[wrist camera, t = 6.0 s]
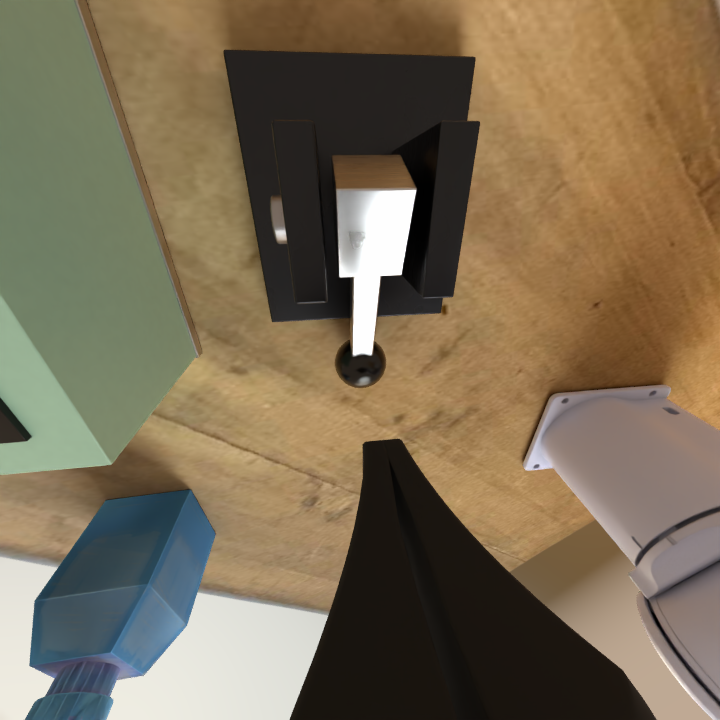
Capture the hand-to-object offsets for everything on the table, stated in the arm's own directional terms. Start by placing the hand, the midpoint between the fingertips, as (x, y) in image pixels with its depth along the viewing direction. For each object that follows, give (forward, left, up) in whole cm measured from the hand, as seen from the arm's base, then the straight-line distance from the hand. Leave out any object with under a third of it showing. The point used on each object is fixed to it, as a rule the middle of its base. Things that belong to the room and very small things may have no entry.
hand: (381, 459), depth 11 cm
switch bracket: (0, -8, -8) cm, 11 cm away
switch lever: (0, -5, -6) cm, 8 cm away
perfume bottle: (+16, +14, -8) cm, 23 cm away
